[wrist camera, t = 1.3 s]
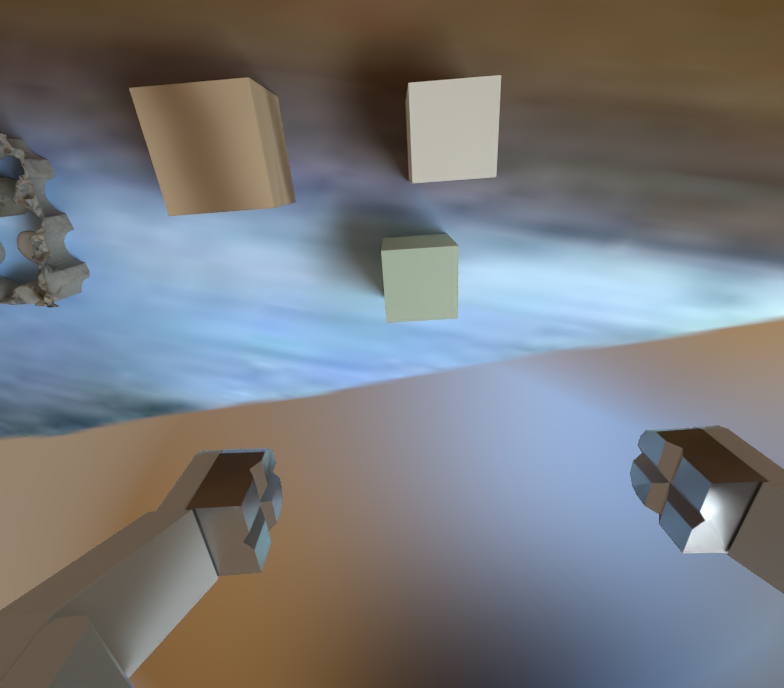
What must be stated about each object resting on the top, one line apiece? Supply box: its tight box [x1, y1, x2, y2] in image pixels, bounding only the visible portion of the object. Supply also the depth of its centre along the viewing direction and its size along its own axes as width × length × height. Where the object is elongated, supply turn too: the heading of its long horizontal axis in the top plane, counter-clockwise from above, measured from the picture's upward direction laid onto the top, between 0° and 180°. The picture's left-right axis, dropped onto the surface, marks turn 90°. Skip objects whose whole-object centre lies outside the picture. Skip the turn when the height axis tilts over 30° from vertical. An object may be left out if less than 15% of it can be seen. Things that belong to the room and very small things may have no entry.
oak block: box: [129, 77, 296, 216], centre depth 21 cm, size 6×6×5 cm
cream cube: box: [405, 75, 501, 183], centre depth 21 cm, size 4×4×5 cm
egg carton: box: [0, 134, 90, 307], centre depth 24 cm, size 11×8×4 cm
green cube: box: [381, 234, 458, 323], centre depth 24 cm, size 4×4×5 cm
